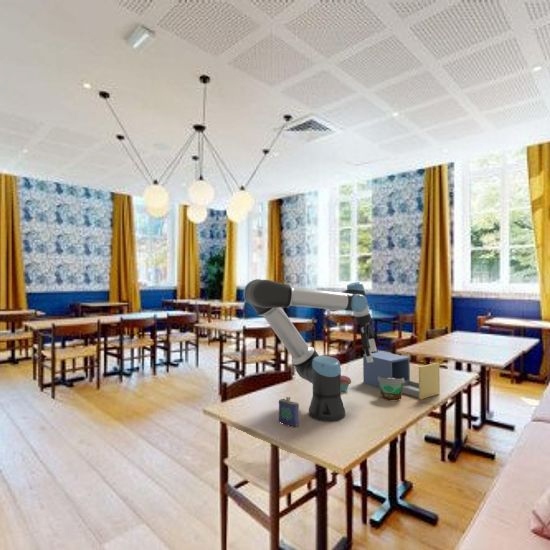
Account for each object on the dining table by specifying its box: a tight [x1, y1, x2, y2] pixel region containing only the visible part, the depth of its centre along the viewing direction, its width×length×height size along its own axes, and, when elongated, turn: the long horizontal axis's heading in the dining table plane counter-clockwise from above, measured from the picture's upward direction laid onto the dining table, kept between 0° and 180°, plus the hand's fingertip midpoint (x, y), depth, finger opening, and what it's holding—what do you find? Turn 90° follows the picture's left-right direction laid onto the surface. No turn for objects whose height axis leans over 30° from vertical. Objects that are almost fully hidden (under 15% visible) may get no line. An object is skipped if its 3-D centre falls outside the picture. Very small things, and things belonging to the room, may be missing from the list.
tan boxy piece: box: [402, 362, 441, 400], centre depth 187 cm, size 15×17×15 cm
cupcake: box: [341, 375, 352, 392], centre depth 192 cm, size 9×8×12 cm
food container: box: [378, 377, 405, 401], centre depth 176 cm, size 12×6×10 cm, turn 73°
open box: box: [362, 351, 411, 388], centre depth 201 cm, size 15×18×15 cm
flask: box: [278, 396, 300, 428], centre depth 148 cm, size 9×3×11 cm, turn 51°
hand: (372, 356), depth 181 cm, fingers open, 13 cm apart
